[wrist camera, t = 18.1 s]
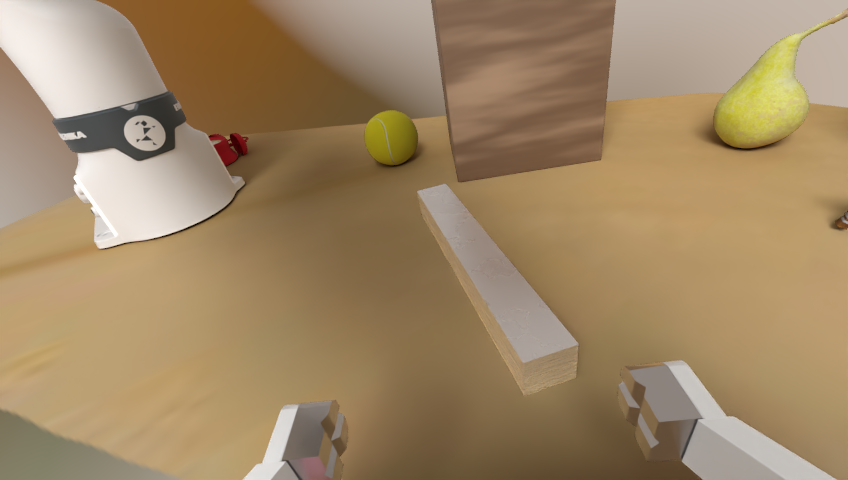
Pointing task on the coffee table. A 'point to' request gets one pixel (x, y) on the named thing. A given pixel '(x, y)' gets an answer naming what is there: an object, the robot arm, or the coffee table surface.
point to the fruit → (766, 97)
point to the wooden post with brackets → (843, 221)
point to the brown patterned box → (523, 82)
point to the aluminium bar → (501, 296)
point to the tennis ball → (391, 137)
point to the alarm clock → (224, 147)
